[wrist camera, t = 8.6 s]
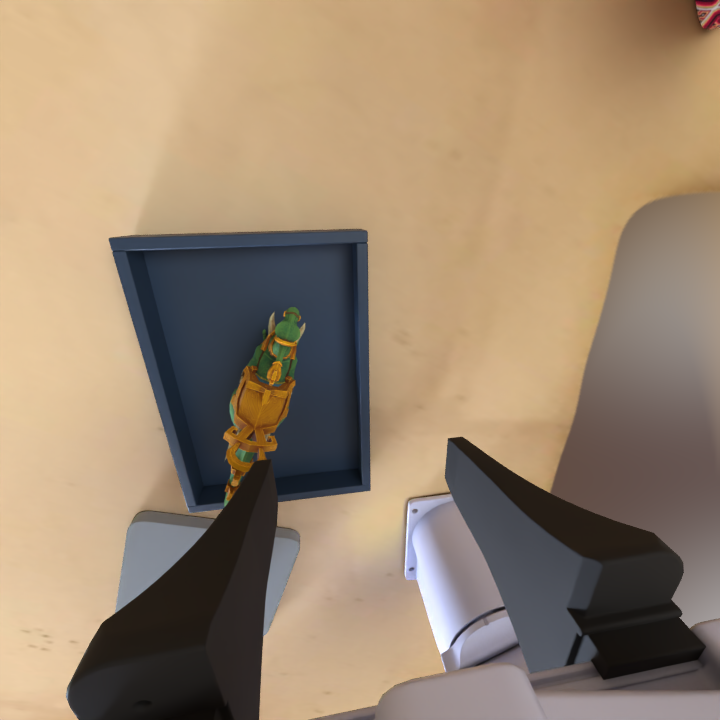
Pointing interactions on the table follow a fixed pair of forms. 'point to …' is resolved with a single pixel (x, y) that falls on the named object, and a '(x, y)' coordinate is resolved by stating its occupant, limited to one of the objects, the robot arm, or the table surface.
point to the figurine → (262, 397)
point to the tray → (238, 344)
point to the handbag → (708, 13)
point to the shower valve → (174, 538)
